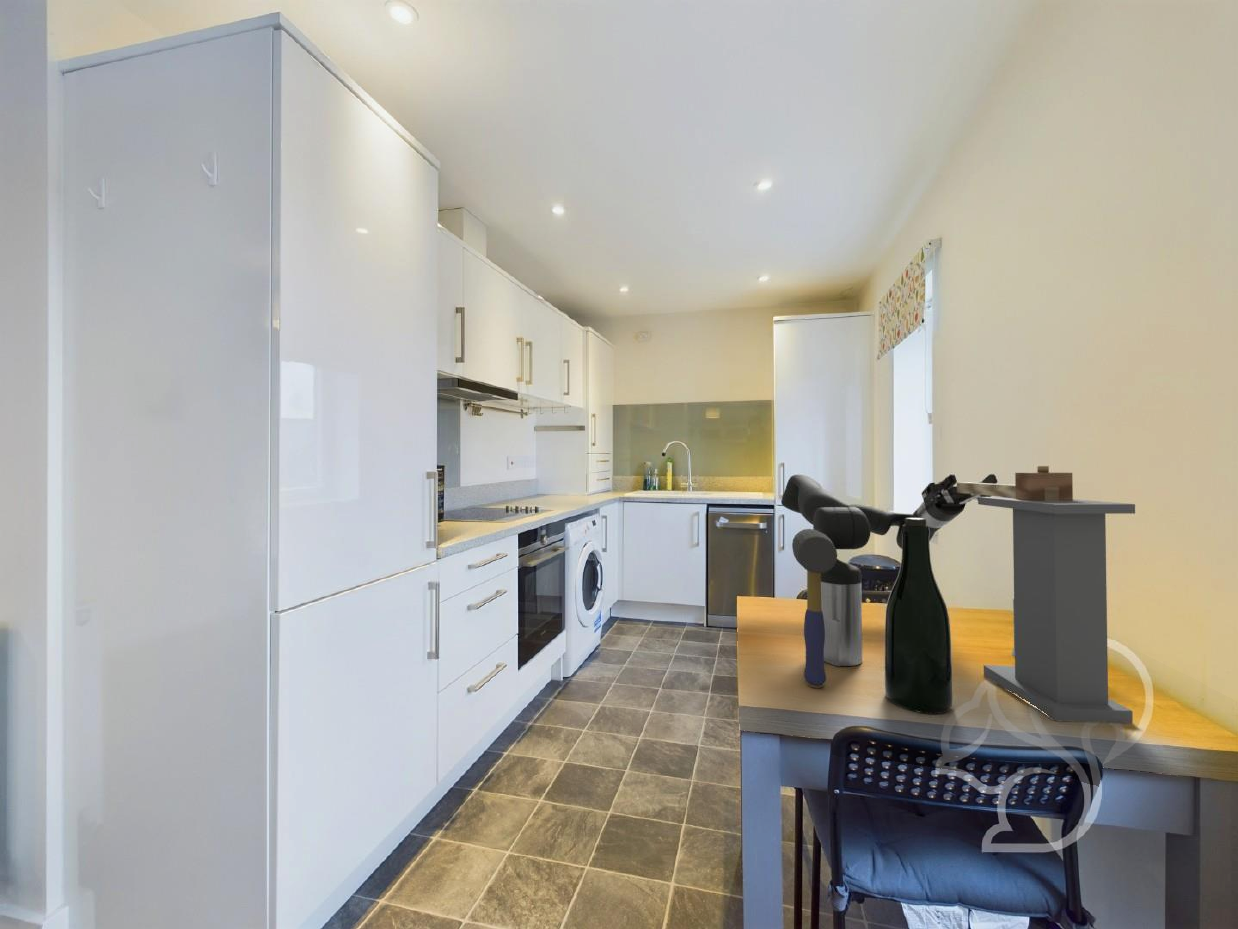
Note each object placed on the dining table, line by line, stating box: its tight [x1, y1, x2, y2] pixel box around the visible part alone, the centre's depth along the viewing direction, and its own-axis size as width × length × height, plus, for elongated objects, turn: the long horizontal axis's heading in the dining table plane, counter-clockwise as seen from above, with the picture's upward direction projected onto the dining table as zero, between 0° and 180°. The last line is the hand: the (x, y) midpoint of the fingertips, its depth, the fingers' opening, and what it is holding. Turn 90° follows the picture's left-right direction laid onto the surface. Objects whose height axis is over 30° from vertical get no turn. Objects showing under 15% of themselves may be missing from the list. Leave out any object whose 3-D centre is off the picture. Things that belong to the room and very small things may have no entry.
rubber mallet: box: [791, 528, 838, 689], centre depth 96 cm, size 12×8×30 cm, turn 166°
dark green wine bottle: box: [884, 518, 954, 714], centre depth 89 cm, size 10×10×33 cm
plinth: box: [977, 496, 1136, 724], centre depth 91 cm, size 20×12×36 cm, turn 175°
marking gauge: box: [956, 465, 1074, 501], centre depth 103 cm, size 27×7×6 cm, turn 175°
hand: (974, 477), depth 112 cm, fingers open, 8 cm apart
